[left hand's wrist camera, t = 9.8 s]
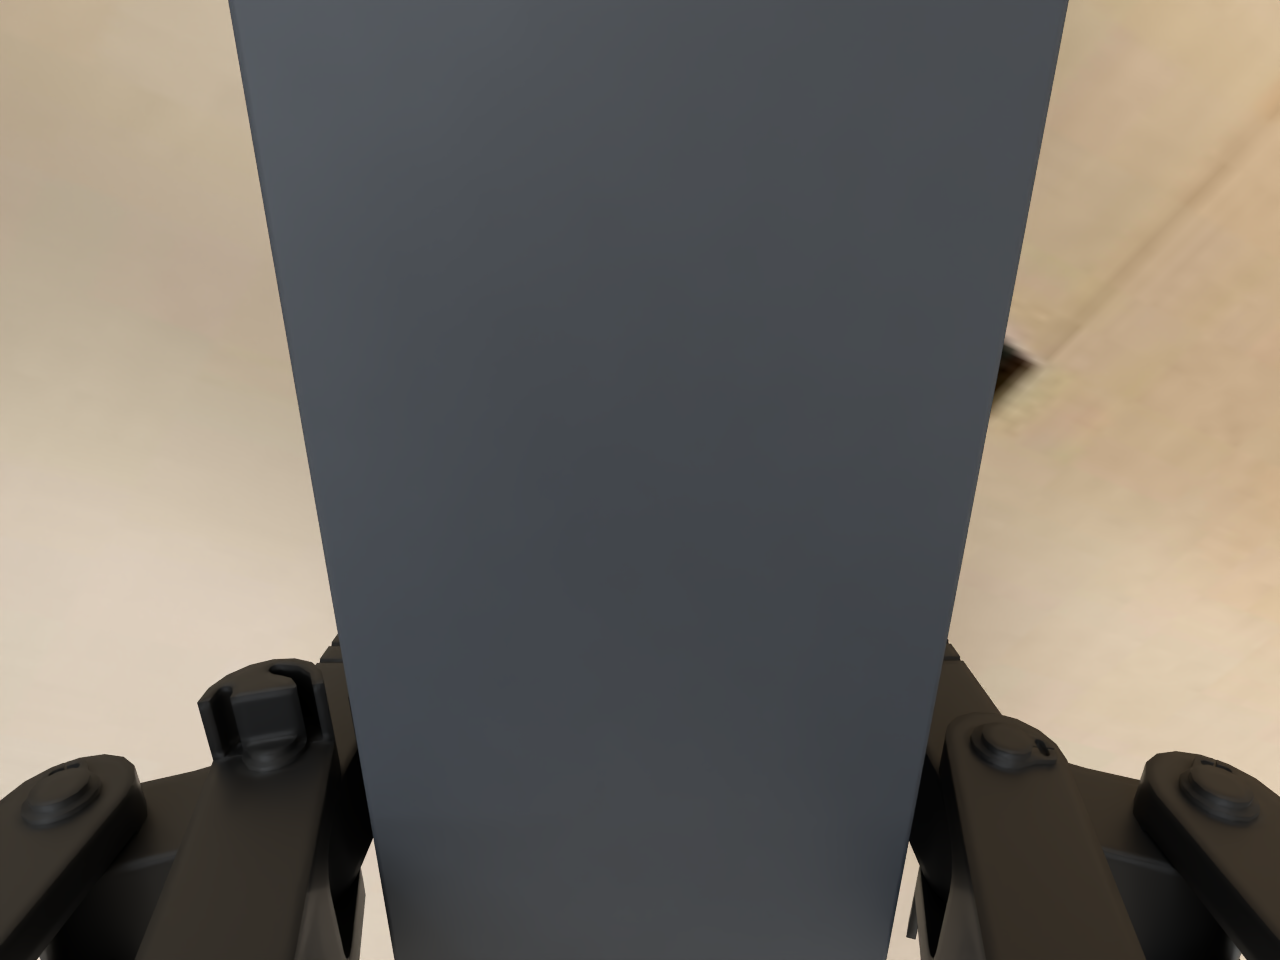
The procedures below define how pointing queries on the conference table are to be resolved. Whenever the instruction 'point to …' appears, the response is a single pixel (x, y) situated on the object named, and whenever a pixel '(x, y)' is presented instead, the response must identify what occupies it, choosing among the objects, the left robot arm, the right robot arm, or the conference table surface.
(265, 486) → the conference table surface
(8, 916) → the left robot arm
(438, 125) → the post
